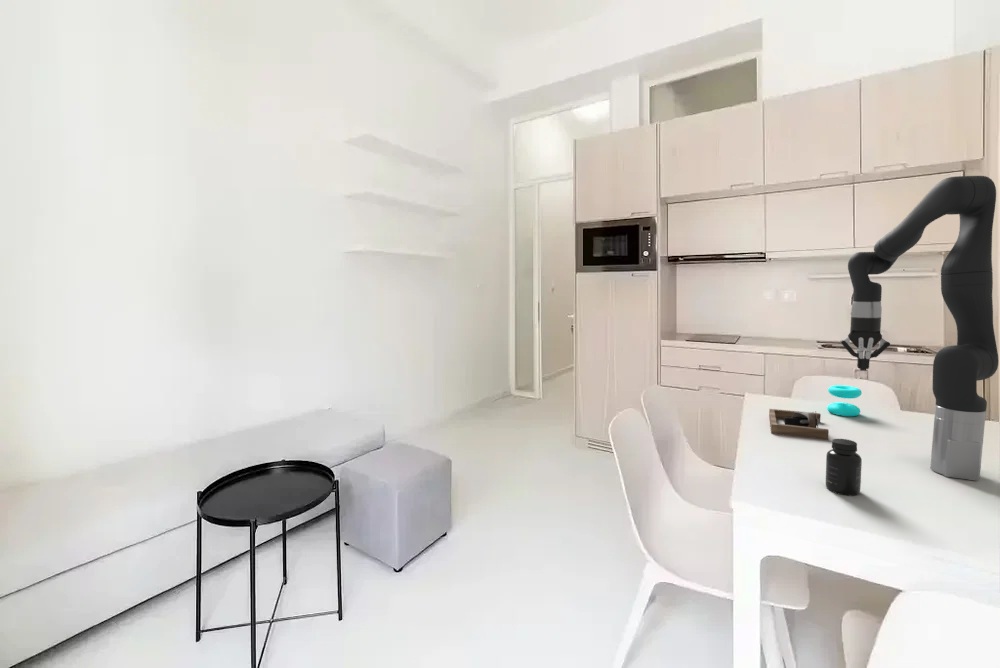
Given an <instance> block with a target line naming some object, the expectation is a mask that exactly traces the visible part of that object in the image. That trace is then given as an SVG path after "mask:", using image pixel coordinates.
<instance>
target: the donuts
mask: <svg viewBox="0 0 1000 668" xmlns="http://www.w3.org/2000/svg"><path fill="white" fill-rule="evenodd" d="M827 389H828V393H829V394H830V395H831V396H833V397H836V398H840V399H848V400H849V399H858V398H859V397H860V396H861V395H862V390H861V389H860V388H858V387H856V386H851V385H844V384H842V385H841V384H838V385H837V384H836V385H835V384H834V385H830V386H829V387H828V388H827ZM826 409H827V411H828V412H829V413H831V414H833V415H835V414H836V415H835V416H840V415H841V416H842V417H857V416H859V415H860V413H861V409H860V408H859V407H858V406H857V405H855V404H853V403H849V402H841V401H839V402H838V401H837V402H832V403H828V405H827V407H826ZM841 416H840V417H841Z"/></svg>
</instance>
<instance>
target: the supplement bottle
mask: <svg viewBox="0 0 1000 668" xmlns="http://www.w3.org/2000/svg"><path fill="white" fill-rule="evenodd" d="M831 442H832V443H831V449H830V450H828V451H827V453H826V459H825V460H826V461H825V487H826V489H827V490H829V491H830V490H831V492H833V493H835V492H836V494H838V493H839V494H838V495H845V496H858V495H859V494H860V492H861V486H862V485H861V483H862V456H860V454H859V453H857V452H858V442H856V441H854V440H851V439H848V438H833V439H832V440H831Z"/></svg>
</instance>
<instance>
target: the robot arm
mask: <svg viewBox="0 0 1000 668" xmlns="http://www.w3.org/2000/svg"><path fill="white" fill-rule="evenodd" d="M996 202H997V188H996V184H995V182H994V180H993V179H992V178H990V177H988V176H986V175H962V176H961V175H959V176H950V177H946V178H944V179H942V180H941V181H939V182H938V183H936V184H935V185H934V186H933V187H932V188H931V189H930V190H929V191H928V192H927V193H926V194H925V196H923V198H922V199H921V200H920V201H919V202H918V203H917V204H916V205H915V206H914V208H913V209H912V210H911V211H910V212H909V213H908V214H907V215H906V217H905V218H903V220H902V221H901V222H899V223H898V224H897V225H896V226H895V227H894V228H893V229H891V230H890V231H889V232H888V233H886V234H885V235H884V236H882V237H881V238H880V239H879V240H878V241H876V242H875V244H874V246H873V251H859V252H855V253H854V254H852V255H851V256H850V257H849V260H848V263H847V270H848V274H849V278H850V280H851V285H852V289H853V293H852V305H851V310H850V329H849V333H848V335H847V337H846V338H844V339H841V340H840V341H839V343H840V344H841V345H842V347H843V348H845V350H846V351H847V352H848V353H849V354H850V355H851V356H852V357H854V358H856V359H857V363H856V367H857V369H859V371H867V370H868V369H870V362H871V361H870V360H871V359H872V358H873V359H874V358H877V357H878V356H880V355H881V354H882V353H883V352H884V351H885V350H886V349H887V348H888V347H889V346H890V345H891V342H890V341H888V340H885V339H884V338H883V335H882V334H881V328H882V292H883V291H882V290H883V289H882V285H881V284H880V283H879V282H874V281H872V280H871V279H870V277H869V275H871V276H872V275H880V274H883V273H885V272H888V270H890V269H891V267H892V266H893V265H894V264H895V262H896V261H897V260H898V259H899V257H900V256H902V255H904V253H906V252H907V251H909V250H910V249H912V248H913V247H915V246H916V245H917V244H918V242H919V241H920V240H921V239H922V236H923V234H924V231H925V229H926V228H927V227H928V226H929V225H930V224H931V223H932V222H934V221H936V220H938V219H940V218H941V217H942V218H943V217H944V216H946V215H952V216H953V215H959V231H958V236H957V239H956V241H955V242H954V245H953V247H952V248H951V249H950V251H949V253H948V254H947V256H946V257H945V258H944V261H943V262H942V265H941V268H940V291H941V296H942V299H943V301H944V303H945V305H946V307H947V309H948V310H949V312H950V314H951V315H952V317H953V319H954V322H955V325H956V333H957V334H956V335H957V337H956V345H949V346H946V347H942V348H941V349H940V350H939V351H937V353H936V354H935V357H934V359H933V362H932V363H933V364H932V394H933V396H934V398H935V407H934V419H933V430H932V442H931V456H930V457H931V458H930V469H931V471H933V472H935V473H937V474H940V475H942V476H944V477H947V478H954V479H961V480H970V481H977V482H978V481H979V479H980V477H981V468H982V459H983V458H982V457H983V445H984V437H985V426H986V425H985V424H986V417H987V416H986V415H987V403H988V402H987V400H986V398H984V397H982V396H980V395H979V394H978V389H977V385H978V384H977V383H978V382H977V381H984V380H988V379H990V378H991V377H993V376H994V375H995V374H996V372H997V371H998V367H999V363H1000V362H999V354H998V347H997V341H996V340H997V339H996V335H995V329H994V305H993V285H994V284H993V283H994V282H993V279H994V277H993V272H994V271H993V260H992V258H993V257H992V256H993V253H992V252H993V227H994V226H993V225H994V217H995V211H996V210H995V209H996ZM851 343H852V344H853V345H854V347H856V352H855V351H854V350H853V348H852V347H851V346H850V345H851ZM877 344H878V345H879V346H878V347H876V345H877ZM874 347H876V349H874V351H873V348H874Z"/></svg>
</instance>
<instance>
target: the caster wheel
mask: <svg viewBox="0 0 1000 668" xmlns="http://www.w3.org/2000/svg"><path fill="white" fill-rule="evenodd" d="M814 413H817V411H815V412H814V411H799V412H795V413H793V415H792V417H785V418H784V419H783V424H784V425H794V426H803V427H813V428H819V425H820V423H819V419H817V414H816V417H815V414H814Z"/></svg>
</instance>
